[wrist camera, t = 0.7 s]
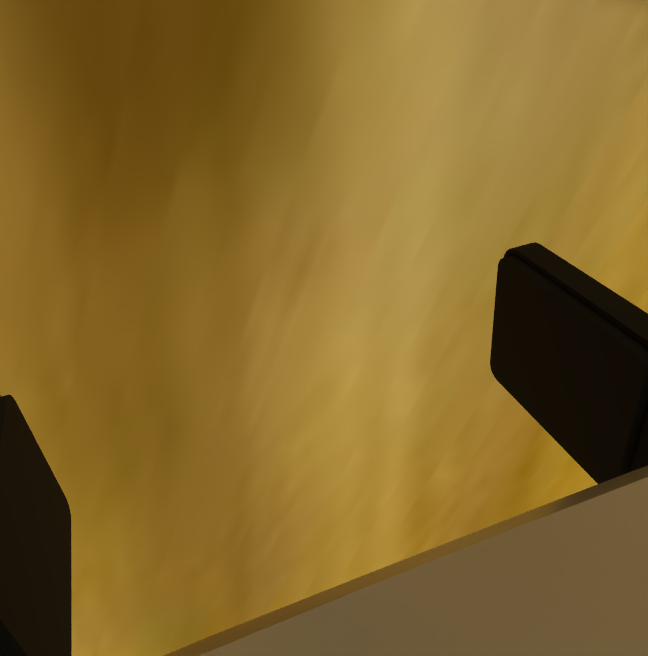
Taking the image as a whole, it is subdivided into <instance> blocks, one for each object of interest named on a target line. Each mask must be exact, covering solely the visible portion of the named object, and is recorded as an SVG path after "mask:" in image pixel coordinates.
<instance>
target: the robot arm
mask: <svg viewBox="0 0 648 656" xmlns="http://www.w3.org/2000/svg"><path fill="white" fill-rule="evenodd" d="M490 366H491V370H492V373H493V375H494V377H495V378H496V379H497V381H498V382H499V383H500V384H501V385H502V386H503V387H504V388H505V389H506V390H507V391H508V392H509V393H510V394H511V395H512V396H513V397H514V398H515V399H516V400H517V401H518V402H519V403H520V404H521V405H522V406H523V407H524V408H525V409H526V410H527V411H528V412H529V414H530V415H531V416H532V417H533V418H534V419H535V420H536V421H537V422H538V423H539V424H540V425H541V426H542V427H543V428H544V429H545V430H546V431H547V432H548V433H549V434H550V435H551V436H552V437H553V438H554V439H555V440H556V441H557V442H558V443H559V444H560V445H561V446H562V447H563V448H564V449H565V451H566V452H567V453H568V454H569V455H570V456H571V457H572V458H573V459H574V460H575V461H576V462H577V463H578V464H579V465H580V466H581V467H582V468H583V469H584V470H585V471H586V472H587V473H588V474H589V475H590V476H591V477H592V478H593V479H594V480H595V481H596V482H597V483H598V485H595V486H593V487H590V488H587V489H585V490H582V491H580V492H577V493H574V494H572V495H569V496H567V497H564V498H561V499H559V500H556V501H554V502H551V503H548V504H546V505H543V506H541V507H538V508H535V509H533V510H530V511H527V512H525V513H522V514H520V515H517V516H515V517H512V518H509V519H507V520H504V521H502V522H499V523H497V524H494V525H491V526H489V527H486V528H484V529H481V530H479V531H476V532H473V533H471V534H468V535H466V536H463V537H461V538H458V539H456V540H453V541H450V542H448V543H445V544H443V545H440V546H438V547H435V548H433V549H430V550H427V551H425V552H422V553H420V554H417V555H415V556H412V557H410V558H407V559H404V560H402V561H399V562H397V563H394V564H392V565H389V566H387V567H384V568H381V569H379V570H376V571H374V572H371V573H369V574H366V575H364V576H361V577H359V578H356V579H353V580H351V581H348V582H346V583H343V584H341V585H338V586H336V587H333V588H331V589H328V590H326V591H323V592H321V593H318V594H316V595H313V596H311V597H308V598H306V599H303V600H301V601H298V602H296V603H293V604H290V605H288V606H285V607H283V608H280V609H278V610H275V611H273V612H270V613H268V614H265V615H263V616H260V617H258V618H255V619H253V620H250V621H248V622H245V623H243V624H240V625H238V626H235V627H233V628H230V629H228V630H225V631H222V632H220V633H217V634H215V635H212V636H210V637H207V638H205V639H203V640H200V641H198V642H195V643H193V644H191V645H188V646H186V647H183V648H181V649H179V650H176V651H174V652H171V653H169V654H166V655H164V656H648V314H647V313H646V312H644V311H643V310H641V309H640V308H638V307H637V306H635V305H633V304H632V303H630V302H629V301H627V300H626V299H624V298H623V297H621V296H619V295H618V294H616V293H615V292H613V291H612V290H610V289H609V288H607V287H606V286H604V285H602V284H601V283H599V282H598V281H596V280H595V279H593V278H592V277H590V276H588V275H587V274H585V273H584V272H582V271H581V270H579V269H578V268H576V267H575V266H573V265H571V264H570V263H568V262H567V261H565V260H564V259H562V258H561V257H559V256H557V255H556V254H554V253H553V252H551V251H550V250H548V249H547V248H545V247H543V246H542V245H540V244H538V243H530V244H526V245H522V246H519V247H515V248H511V249H509V250H508V251H506V253H505V255H504V258H502V259H501V260H500V261H499V264H498V272H497V284H496V297H495V309H494V321H493V334H492V346H491V358H490ZM0 656H71V514H70V509H69V505H68V502H67V499H66V497H65V495H64V493H63V491H62V489H61V488H60V486H59V484H58V482H57V480H56V478H55V476H54V474H53V472H52V470H51V468H50V466H49V465H48V463H47V461H46V459H45V457H44V455H43V453H42V451H41V449H40V447H39V445H38V443H37V442H36V440H35V438H34V436H33V434H32V432H31V430H30V428H29V426H28V424H27V422H26V420H25V418H24V417H23V415H22V413H21V411H20V409H19V407H18V405H17V403H16V401H15V400H14V398H13V397H12V396H11V395H6V396H2V397H1V396H0Z"/></svg>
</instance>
